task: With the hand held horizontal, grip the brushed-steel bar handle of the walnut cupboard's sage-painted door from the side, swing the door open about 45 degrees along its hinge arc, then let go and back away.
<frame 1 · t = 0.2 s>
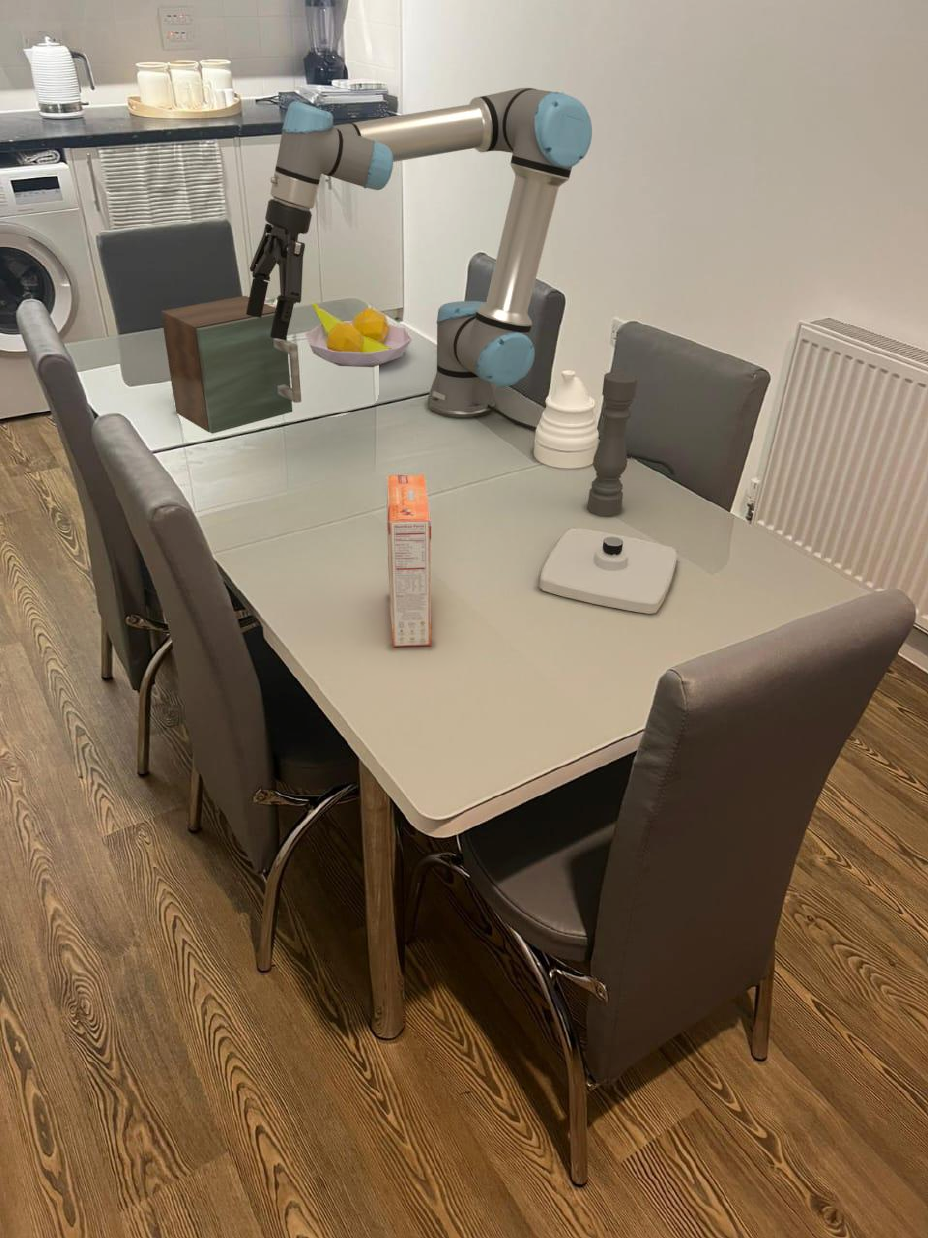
hand: (265, 326, 169), 27 cm above the table, tool tilted 15°, fingers open, 13 cm apart
candle holder: (604, 509, 173), on the table
cracker box: (409, 622, 140), on the table
fruit bowl: (357, 358, 239), on the table
showerhead: (608, 575, 153), on the table
cupboard: (232, 411, 206), on the table
honey pot: (564, 456, 192), on the table
syrup box: (273, 359, 236), on the table
cupboard door: (255, 377, 193), point 11 cm above the table, hinge at 0.0°
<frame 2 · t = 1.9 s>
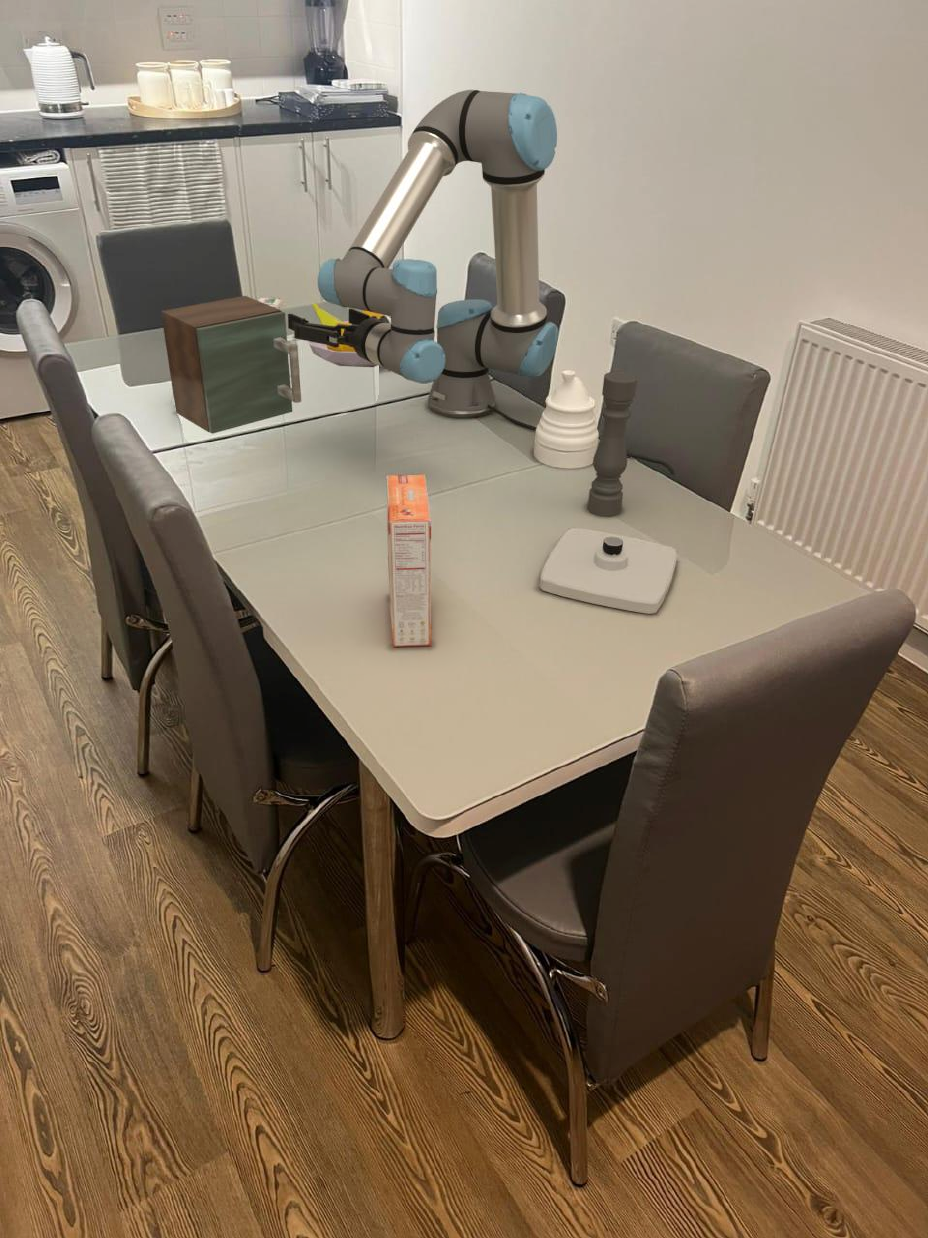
hand: (320, 318, 183), 24 cm above the table, tool horizontal, fingers open, 13 cm apart
nothing on the table moved.
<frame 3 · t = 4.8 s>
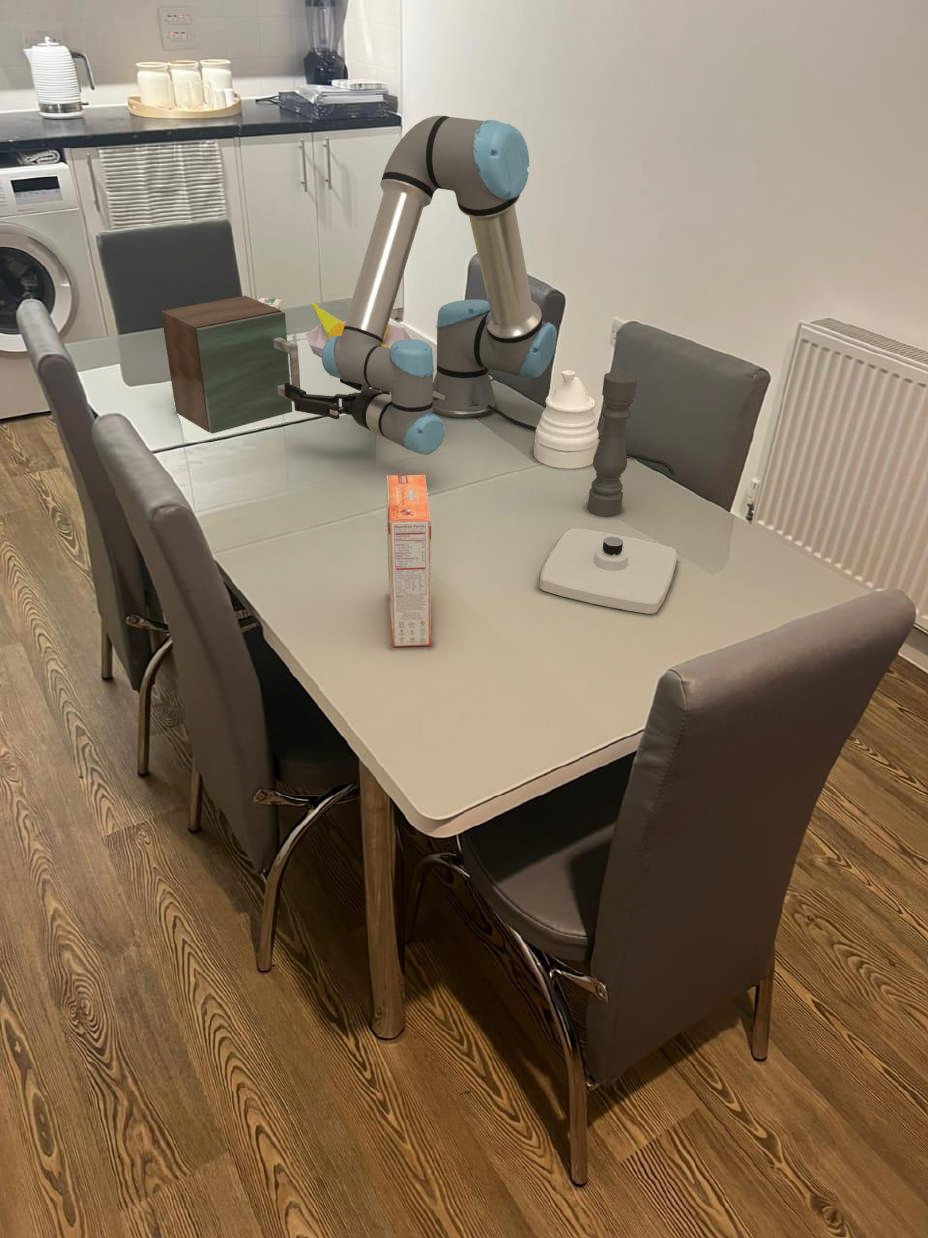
hand: (314, 382, 191), 11 cm above the table, tool horizontal, fingers open, 13 cm apart
nothing on the table moved.
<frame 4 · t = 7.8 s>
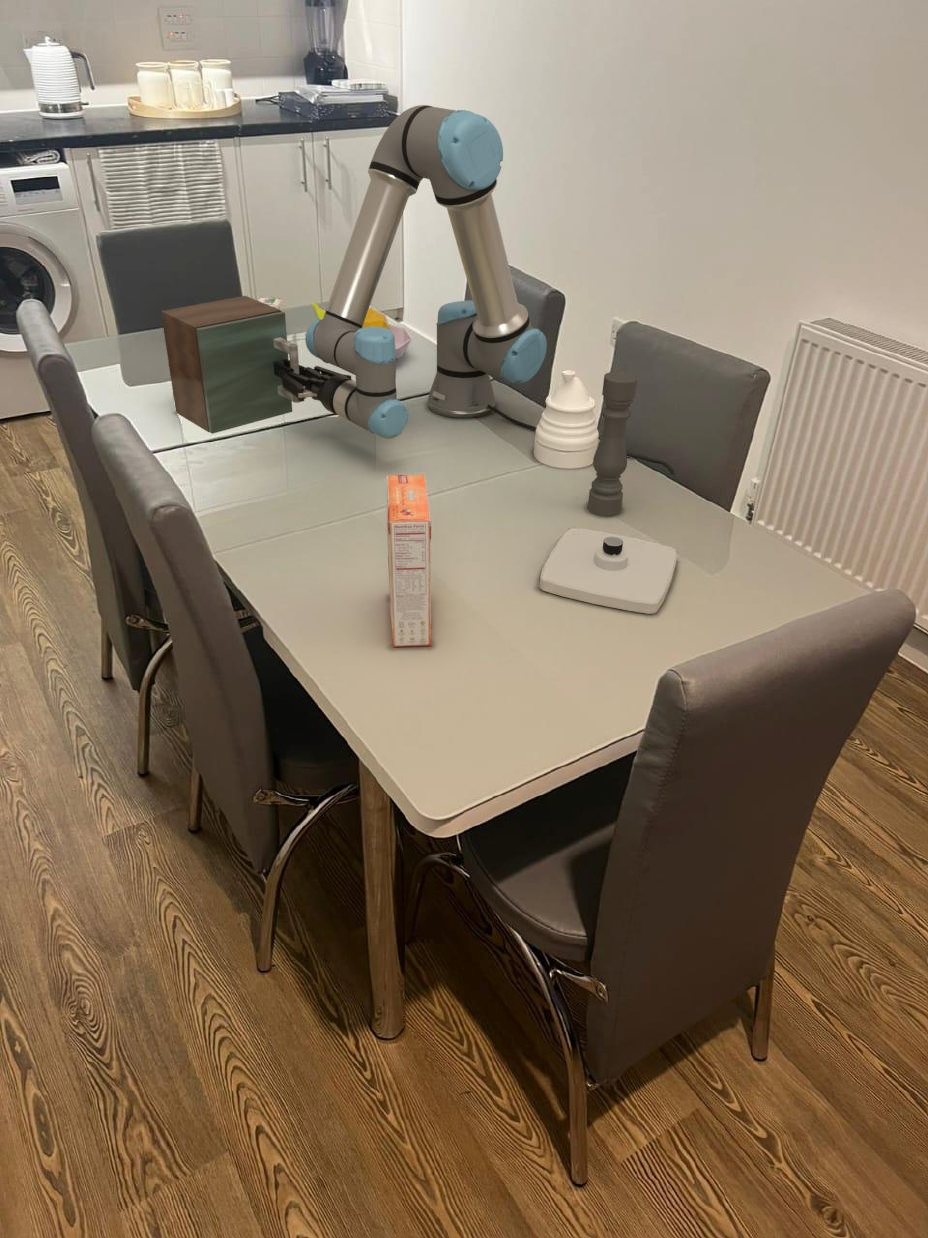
hand: (280, 366, 199), 11 cm above the table, tool horizontal, fingers closed on cupboard door, 2 cm apart
cupboard door: (255, 377, 193), point 11 cm above the table, hinge at 0.0°, touching gripper
everything else where it was.
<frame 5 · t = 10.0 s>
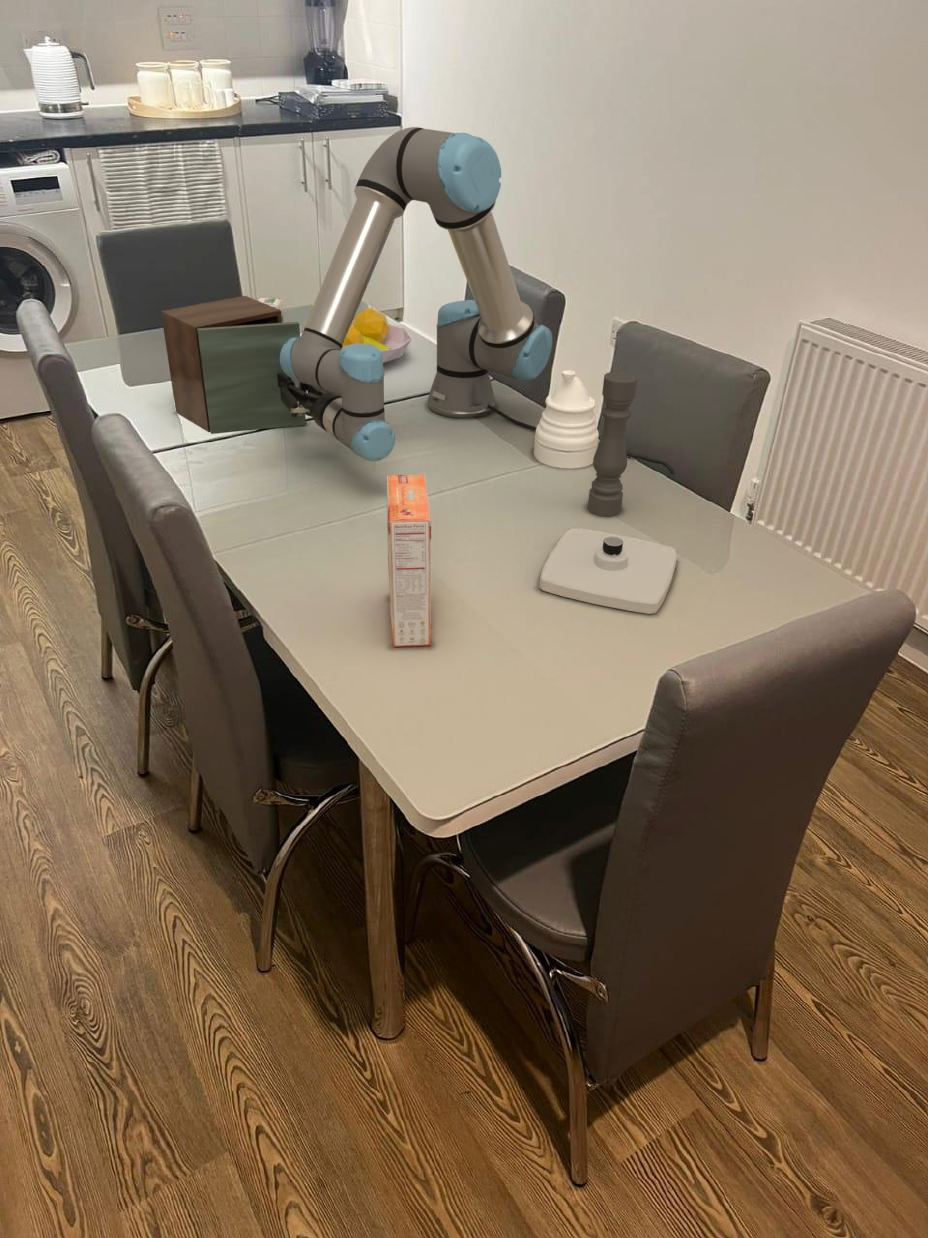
hand: (284, 378, 193), 11 cm above the table, tool horizontal, fingers closed on cupboard door, 2 cm apart
cupboard door: (256, 384, 190), point 11 cm above the table, hinge at 23.6°, touching gripper
everything else where it was.
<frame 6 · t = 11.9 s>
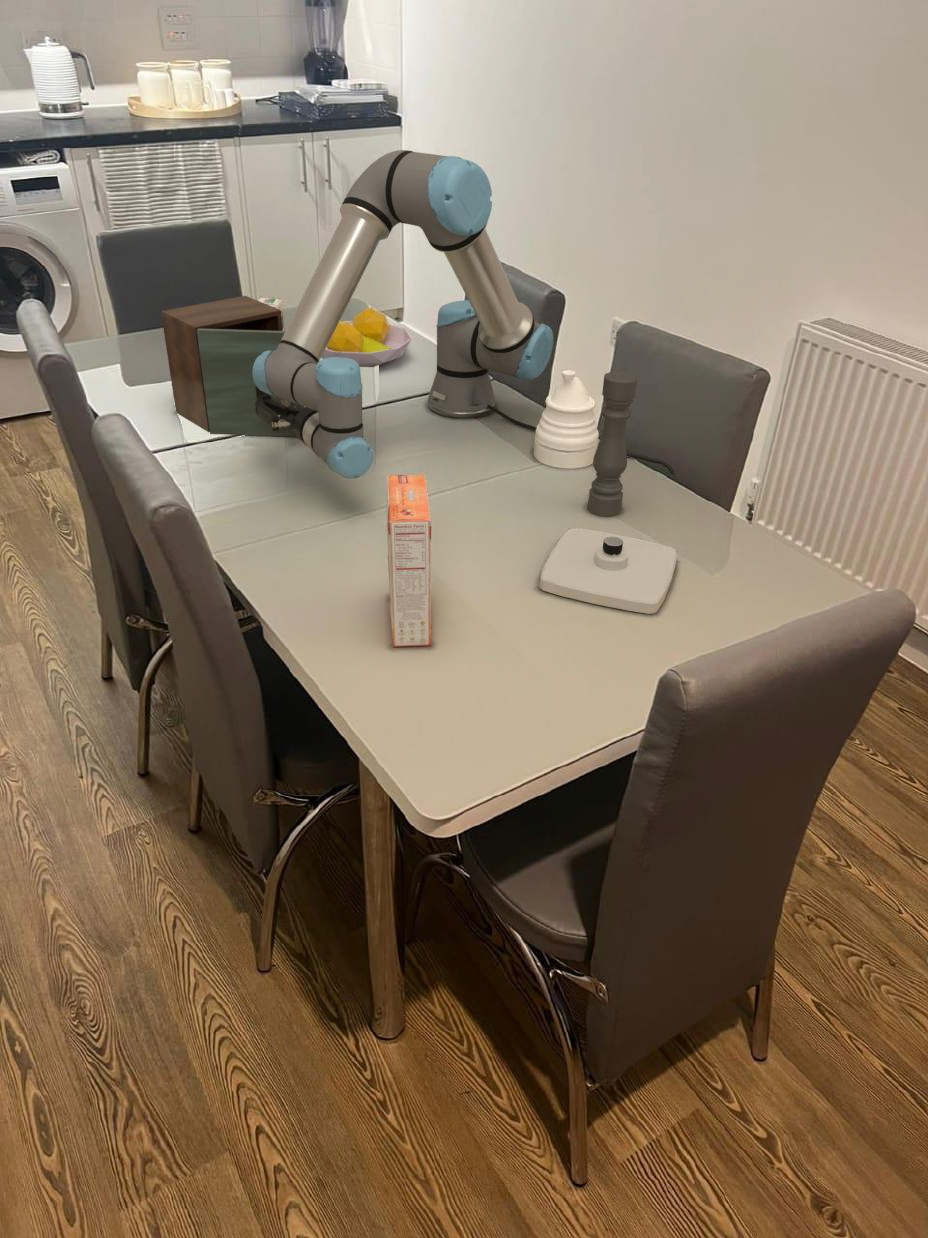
hand: (274, 390, 187), 11 cm above the table, tool horizontal, fingers open, 6 cm apart
cupboard door: (250, 390, 187), point 11 cm above the table, hinge at 42.5°
everything else where it was.
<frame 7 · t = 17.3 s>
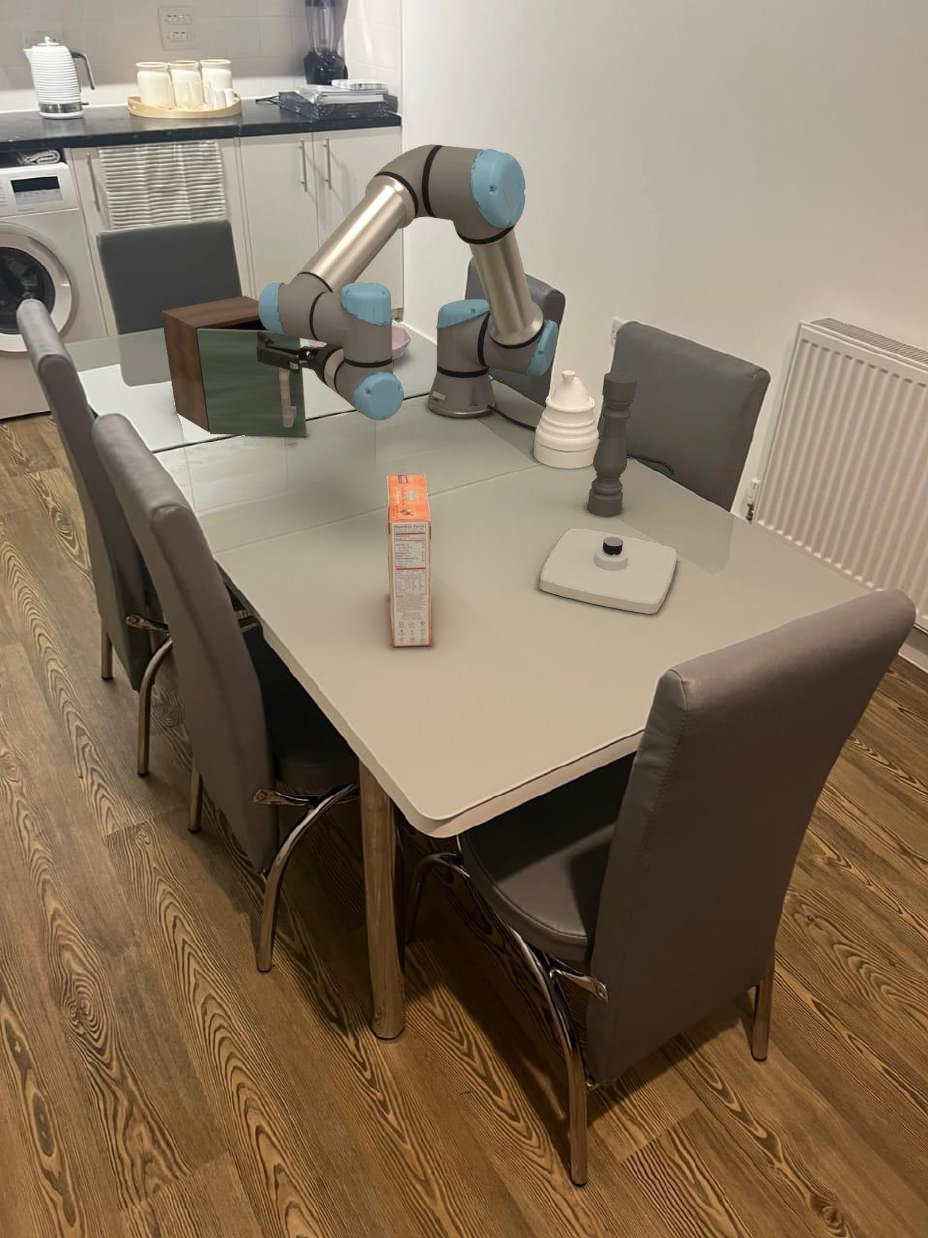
hand: (295, 334, 169), 26 cm above the table, tool horizontal, fingers open, 13 cm apart
nothing on the table moved.
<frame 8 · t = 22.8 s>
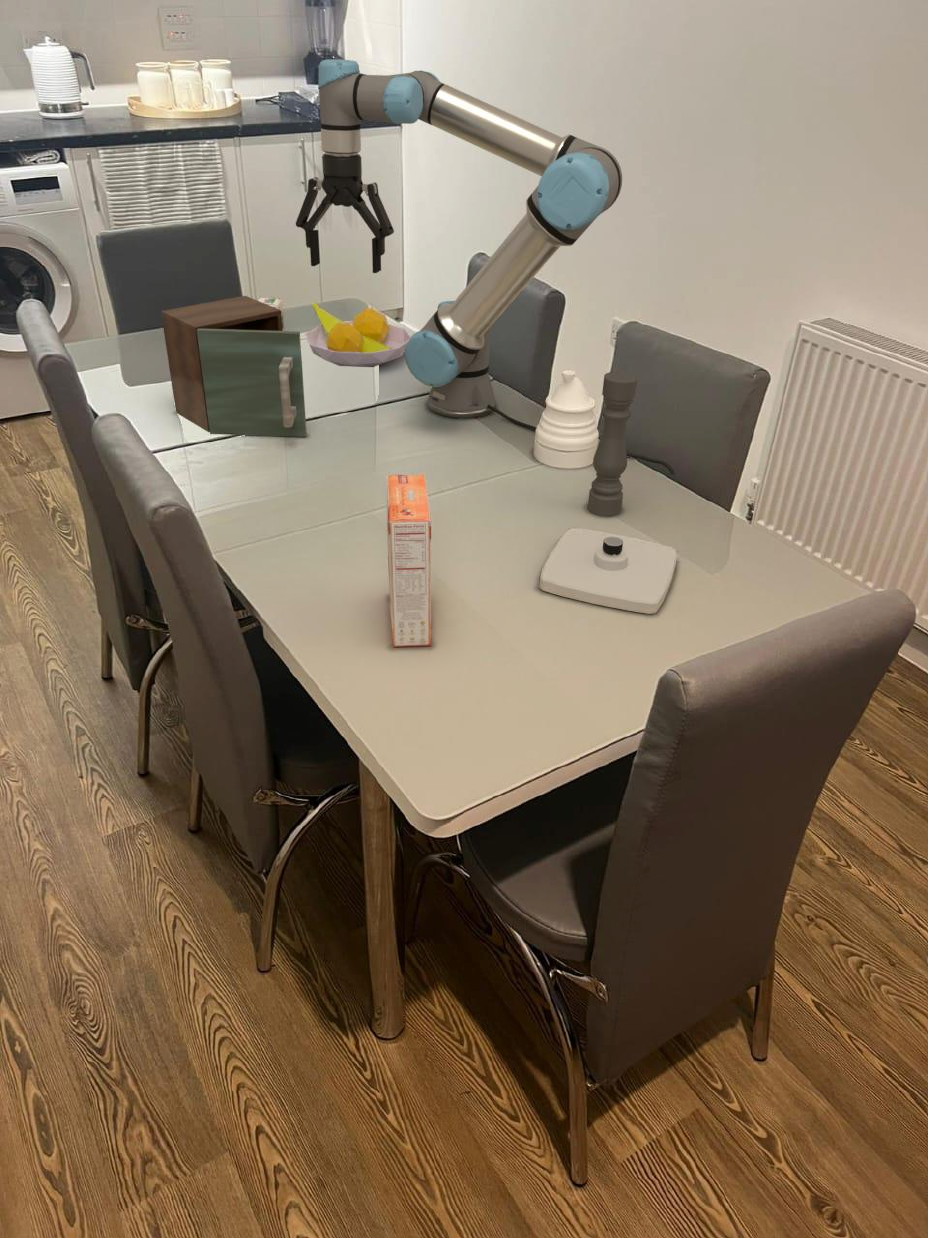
hand: (346, 268, 191), 31 cm above the table, tool pointing down, fingers open, 13 cm apart
nothing on the table moved.
at the end: cupboard door at +42° (first picture: +0°); the gripper is holding nothing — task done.
